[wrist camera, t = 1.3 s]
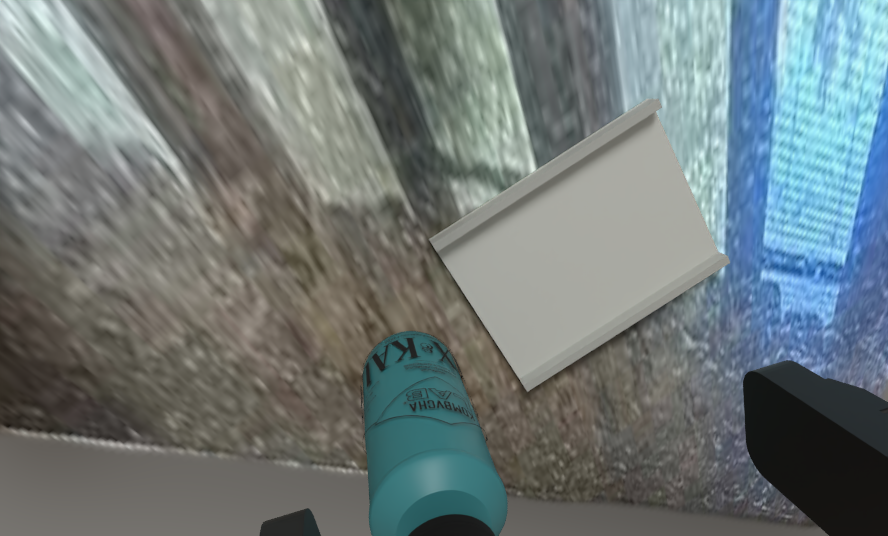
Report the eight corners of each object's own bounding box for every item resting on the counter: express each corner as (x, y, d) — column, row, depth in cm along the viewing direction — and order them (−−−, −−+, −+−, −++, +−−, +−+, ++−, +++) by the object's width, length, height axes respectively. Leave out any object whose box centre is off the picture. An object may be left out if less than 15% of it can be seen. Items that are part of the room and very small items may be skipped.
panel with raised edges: (521, 382, 42) (527, 391, 40) (428, 239, 38) (431, 244, 36) (717, 257, 42) (730, 262, 40) (647, 98, 37) (658, 99, 36)
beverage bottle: (453, 397, 41) (545, 652, 22) (361, 408, 40) (376, 683, 21) (451, 313, 39) (549, 514, 20) (354, 322, 38) (363, 542, 19)
